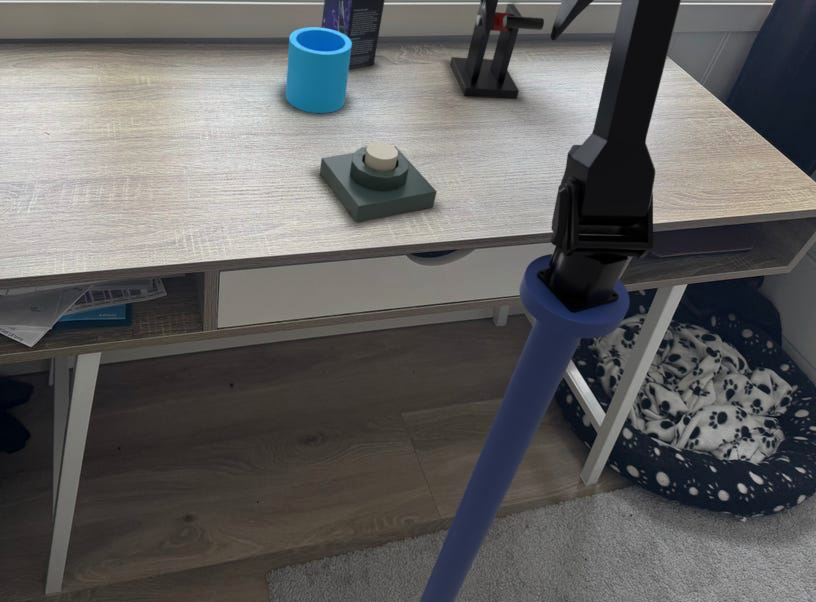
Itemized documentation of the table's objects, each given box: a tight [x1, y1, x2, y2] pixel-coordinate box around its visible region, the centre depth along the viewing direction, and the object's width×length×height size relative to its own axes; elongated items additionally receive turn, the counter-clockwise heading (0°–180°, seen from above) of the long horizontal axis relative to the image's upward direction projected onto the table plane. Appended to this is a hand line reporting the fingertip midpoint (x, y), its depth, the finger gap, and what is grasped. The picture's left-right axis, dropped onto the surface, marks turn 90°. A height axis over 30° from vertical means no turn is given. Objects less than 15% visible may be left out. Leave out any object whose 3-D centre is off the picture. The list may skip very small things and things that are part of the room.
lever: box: [491, 11, 545, 32], centre depth 100 cm, size 12×5×2 cm, turn 5°
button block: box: [319, 145, 437, 223], centre depth 85 cm, size 10×10×4 cm
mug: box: [285, 26, 352, 114], centre depth 99 cm, size 12×8×8 cm
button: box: [365, 141, 398, 172], centre depth 83 cm, size 4×4×2 cm
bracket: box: [449, 1, 523, 99], centre depth 106 cm, size 10×8×11 cm
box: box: [320, 0, 385, 69], centre depth 108 cm, size 8×6×11 cm
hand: (519, 37), depth 96 cm, fingers open, 9 cm apart
